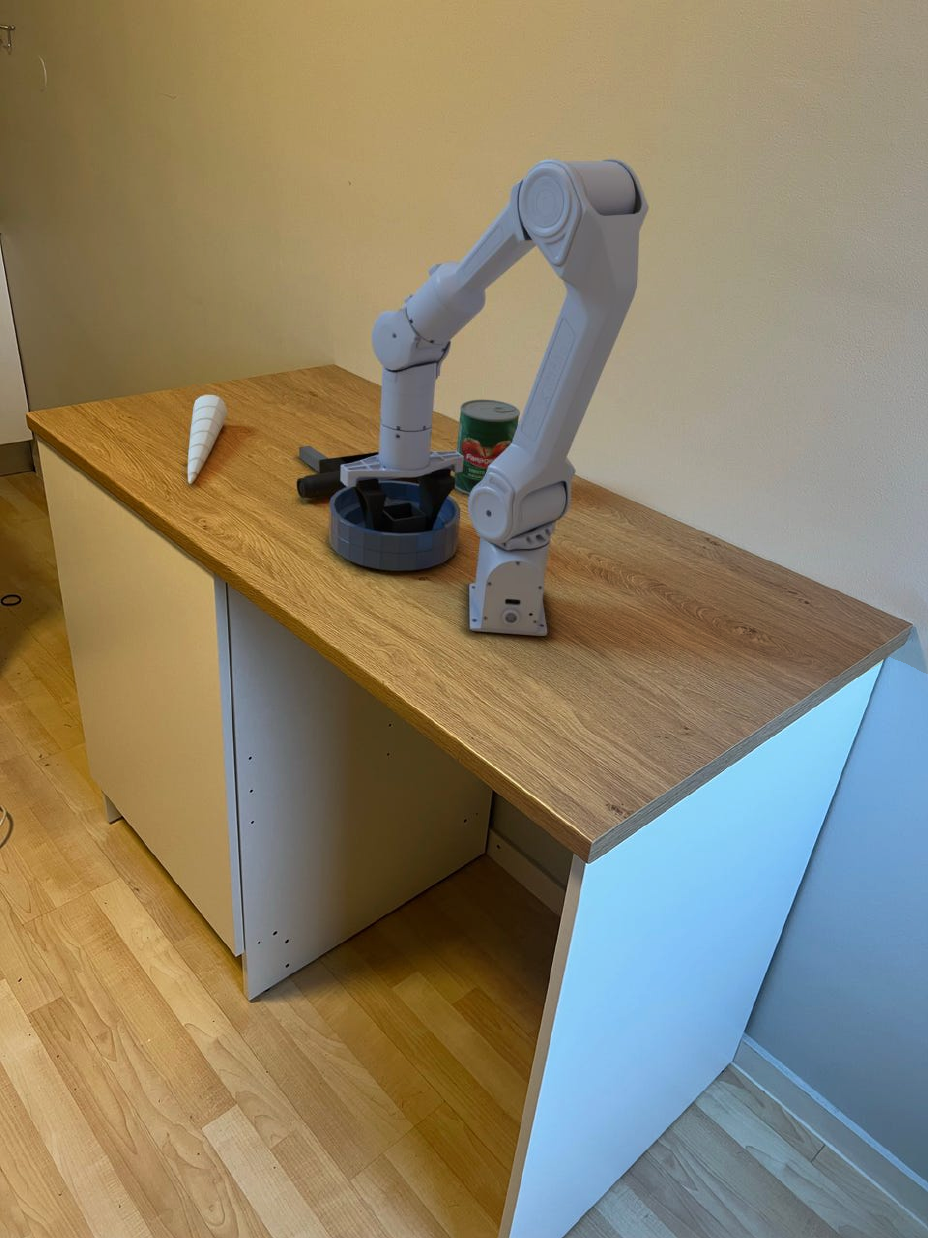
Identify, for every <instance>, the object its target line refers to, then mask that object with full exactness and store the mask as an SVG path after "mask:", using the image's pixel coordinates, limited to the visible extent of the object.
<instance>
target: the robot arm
mask: <svg viewBox="0 0 928 1238" xmlns="http://www.w3.org/2000/svg"><path fill="white" fill-rule="evenodd" d="M509 195H510V196H509V197H510V198H509V201H508V203H507V204H506V205H505V206H504V207H503V209H502V210H501V211H500V212H499V214H497V216H496V217H495V219H494V220H493V221H492V223H491V224H490V225H489V226H488V227H487V229H486V230H485V231H484V232H483V233H482V235H481V236H480V237H479V238H478V240H476V242H475V243H474V245H473V246H472V247H471V248H470V249H469V251H468V252H467V253H466V254H465V255H464V257H463V258H462V259H461V260H460V262H458V261H454V260H453V261H452V260H451V261H446V262H441V263H434V264H433V265H432V266H431V267H430V269H429V270H428V274H429V277H428V279H426V280H425V282H423V284H422V285H421V286H420V287H419V288H418V289H417V290H416V291H415V292H414V293H412V294H409V295H408V296H406V298H405V299H404V304H403V305H402V306H401V308H398V310H386V311H382V312H380V314H379V315H378V317H377V319H376V320H375V322H374V324H373V328H372V330H371V345H372V349H373V352H374V355H375V358H376V359H377V361H378V362H379V364H380V365H381V366H382V368H381V370H382V371H381V389H380V390H381V391H380V393H381V394H380V412H379V413H380V414H379V437H378V438H379V439H378V452H379V454H378V455H375V456H372V457H369V458H366V459H363V460H360V461H357V462H353V463H349V464H343V465H341V479H340V481H341V482H342V483H343V484H344V485H346V486H347V487H352V489H353V491H354V493H355V495H356V498H357V500H358V502H359V505H360V508H361V511H362V514H363V518H364V522H365V527H366V529H369V530H374V531H379V532H381V519H382V512H383V507H384V503H385V500H386V497H387V494H386V493H385V492H383V491H382V490H381V485H379V484H378V481H380V480H387V479H395V478H402V477H418V480H419V482H418V484H419V493H420V502H419V509H420V510H422V511H423V512H424V513H425V514H426V515H427V516H428V518H427V531H431V530H433V527H434V524H435V521H436V518H437V516H438V513H439V511H440V509H441V507H442V505H443V503H444V501H445V500H446V498H447V497H448V495H449V496H450V494H451V493H452V491H454V489H456V488H455V483H456V479H455V478H454V476H453V475H452V472H453V473H454V474H455V473H457V472H462V471H463V460H464V456H462V455H461V454H460V453H458V452H457V450H443V451H442V450H441V451H440V450H431V448H432V447H431V446H432V434H433V433H432V431H433V418H434V406H435V393H436V392H435V391H436V381H437V380H438V378H439V377H440V376H441V368H442V364H443V362H444V360H445V359H446V358H447V357H448V356H449V353H450V350H451V347H452V346H451V344H452V341H451V340H452V339H453V338H454V337H455V336H456V335H457V334H458V333H459V332H461V330H462V329H464V328H465V326H466V325H468V324H469V323H470V322H471V321H473V319H474V318H475V317H476V316H477V315H478V314H479V313H480V312H481V311H482V310H484V308H485V305H486V300H487V299H486V297H487V296H486V295H487V294H486V289H488V288H489V287H490V286H491V285H493V283H495V282H496V281H497V280H498V279H499V278H501V277H502V276H503V275H504V274H505V273H506V272H508V270H510V269H511V268H512V267H513V266H514V265H516V264H517V263H518V262H519V261H520V260H521V259H523V257H525V256H526V255H527V254H528V253H529V252H531V251H532V250H533V249H534V248H535V247H536V248H537V249H538V250H539V251H540V253H541V254H542V256H543V257H544V258H545V260H546V261H547V262H548V264H549V266H550V267H551V268H552V269H553V271H554V273H555V274H556V275H557V277H558V278H559V279H560V280H562V282H563V284H564V287H565V288H566V295H565V298H564V300H563V303H562V306H561V309H560V311H559V314H558V316H557V319H556V323H555V324H554V327H553V329H552V333H551V336H550V338H549V340H548V343H547V346H546V349H545V352H544V354H543V357H542V360H541V363H540V364H539V368H538V370H537V374H536V377H535V378H534V381H533V384H532V386H531V389H530V393H529V395H528V397H527V401H526V402H525V405H524V408H523V411H522V414H521V417H520V419H519V421H518V427H517V430H516V433H515V435H514V438H513V441H512V443H511V444H510V445H509V446H508V447H507V448H506V449H505V450H504V451H503V452H502V453H501V454H500V455H499V456H498V457H497V458H496V459H495V460H494V461H493V462H492V463H491V464H490V465H489V466H488V469H487V472H486V474H485V476H484V478H483V479H482V481H481V482H479V483H478V484H477V485H476V486H475V487H474V488H473V489H472V491H471V493H470V495H468V501H467V508H468V509H467V510H468V516H469V519H470V523H471V524H472V527H473V528H474V530H475V532H476V536H478V537H480V539H479V545H478V546H479V547H478V556H477V563H476V564H477V566H476V574H475V581H474V582H472V583H470V584H468V585H469V587H468V599H469V600H468V602H469V630H471V631H473V632H483V633H494V634H495V633H496V634H509V635H510V634H511V635H524V636H536V637H545V636H547V635H548V627H547V621H546V615H545V607H544V601H543V599H544V592H545V585H546V584H545V583H546V581H545V577H546V571H547V564H548V557H549V551H550V545H551V539H552V534H553V533H555V530H556V523H557V521H560V520H561V519H563V518H564V517H565V516H566V514H568V512H569V509H570V507H571V502H572V483H573V479H574V477H575V475H576V472H577V469H576V468H575V466H574V465H573V463H572V462H571V460H570V459H569V458H568V456H569V453H570V450H571V448H572V446H573V443H574V441H575V438H576V436H577V435H578V432H579V429H580V426H581V424H582V421H583V419H584V417H585V415H586V413H587V410H588V407H589V406H590V403H591V401H592V398H593V396H594V393H595V391H596V389H597V386H598V384H599V381H600V379H601V376H602V374H603V372H604V369H605V368H606V367H605V366H606V364H607V362H608V360H609V357H610V355H611V353H612V350H613V348H614V345H615V344H616V341H617V338H618V336H619V333H620V331H621V329H622V326H623V324H624V322H625V319H626V317H627V314H628V312H629V310H630V308H631V305H632V302H633V300H634V299H635V295H636V291H637V288H638V278H639V277H638V276H639V275H638V273H639V250H640V249H639V247H640V246H639V245H640V231H641V230H642V226H643V224H644V222H645V219H646V216H647V214H648V212H649V209H650V207H649V203H648V201H647V199H646V196H645V193H644V190H643V188H642V185H641V183H640V180H639V177H638V175H637V173H636V172H635V170H634V169H633V168H632V167H631V165H629V164H628V163H626V162H625V161H623V160H621V159H617V158H610V159H603V160H561V159H558V158H547V159H543V160H540V161H538V162H537V163H535V164H534V165H533V166H532V167H531V168H530V169H528V171H527V172H526V175H525V176H524V178H522V179H520V180H519V181H518V182H517V183H514V185H513V186H512V187H511V189H510V194H509Z"/></svg>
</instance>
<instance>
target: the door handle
mask: <svg viewBox="0 0 928 1238" xmlns="http://www.w3.org/2000/svg"><path fill="white" fill-rule="evenodd" d="M298 450H299V451H298V452H299V453H298V455H299V459H300V460H301V461H303V462H304V463H305V464H307V465H308V466H309V467H310V468H312V469H314V470H315V471H316V472H317V473H314V474H308V475H305V476H303V477H299V478H297V479H296V491H297V494H298V496H299V497H300V498H301V499H305V498H306V499H309V500H310V499H311V500H313V499H319V498H324V497H332V496H333V495H334V494H335V493H337V492H338V491H340V490H342V489H343V488H345V487H347V486H346V485H344V484H343V483H342V482H341V481H340V479H341V465H343V464H349V463H353V462H357V461H360V460H363V459H366V458H369V457H372V456H375V455H378V454H379V451H375V452H367V453H360V454H351V455H346V456H338V457H337V456H336V457H330V458H329V457H328V456H326V455H325V454H324V453H321V452H320V451H318V450H317V449H316V448H314V447H313V446H311V445H303V446H299V448H298ZM380 481H403V482H411V483H419V480H418V477H402V478H395V479H387V480H380Z"/></svg>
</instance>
